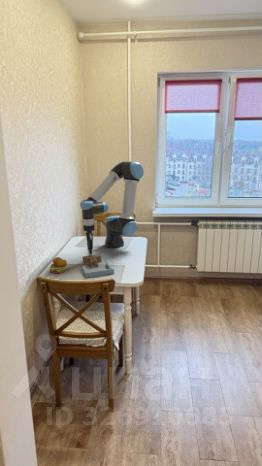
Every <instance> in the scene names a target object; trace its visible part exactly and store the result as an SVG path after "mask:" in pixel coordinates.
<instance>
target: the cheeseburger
mask: <svg viewBox="0 0 262 466" xmlns="http://www.w3.org/2000/svg"><path fill="white" fill-rule="evenodd" d="M67 266H68V262H67V260H66V259H64V258H61V257H59V256H56V257H54V258H53V259H52V263H51V264H50V266H49V267H48V268H49V269H48V271H49V272H50V273H52V274H61V273H63V272H65V270H66V268H67Z"/></svg>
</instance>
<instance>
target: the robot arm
mask: <svg viewBox="0 0 262 466" xmlns="http://www.w3.org/2000/svg"><path fill="white" fill-rule="evenodd" d="M144 173H145V171H144V167H143V165H142V164H141V163H140V162H137V161H121V162H119V163H117V164H116V165H115V166H113V168H112V169H110V171H108V175H107V176H106V177H105V178H104V179H103V180H102V182H101V183H100V184H99V185H98V186H97V187H96V188H95V190H94V191H92V193H91V194H90V195H89V196H88V197H87V199H83V200H81V202H80V204H79V205H80V206H79V207H80V209H81V214H82V220H81V222H82V224H83V225H82V229H83V231H84V232H85V236H86V237H85V238H86V247H87V249H86V250H87V256H90V255H94V254H93V253H94V252H93V249H94V246H93V245H94V237H93V236H94V235H93V234H94V233H93V231H95V216H96V215H101V214H104V213H108V211H109V205H108V203H107V201H101V199H103V198H104V196H106V194H107V193H108V191H110V190H111V189H112V187H113V186H114V185H115V184H116V183H117V182H119V181H120V180H121V179H123V181H124V182H125V183H124V191H123V198H122V199H123V200H122V209H121V215H110V216H108V217H106V218H105V228H106V237H105V241H104V246H105V248H109V249H110V248H111V249H116V248H121V247H123V246H124V245H125V240H124V238H123V236H124V237H132V236H133V235H134V234H136V232H137V230H138V224H137V223H136V222H135V217H134V211H135V203H136V194H137V187H138V184H139V183H140V179H142V178H143V177H144Z"/></svg>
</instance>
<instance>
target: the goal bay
mask: <svg viewBox="0 0 262 466" xmlns="http://www.w3.org/2000/svg"><path fill="white" fill-rule="evenodd" d="M105 266H106V267H107V268H105V269H99V270H92V271H87V270H86V268H85V266H84V265H81V269H82V271H83V272H82V273H83V274H84V276H85V278H94V277H95V278H96V277H99V276H106V275H114V274H115V268H114V267H112V265H111V264H110V263H109V262H108V261H106V262H105Z"/></svg>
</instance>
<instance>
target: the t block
mask: <svg viewBox="0 0 262 466" xmlns="http://www.w3.org/2000/svg"><path fill="white" fill-rule="evenodd" d="M81 258H82V264H84V265H87V264H89V265H90V266H91V268H97V267H99V263H100V262H101V263H102V256H101V254H100V253H99V254H93V255H90V256H88V255H84V256H83V255H82V257H81Z"/></svg>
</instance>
